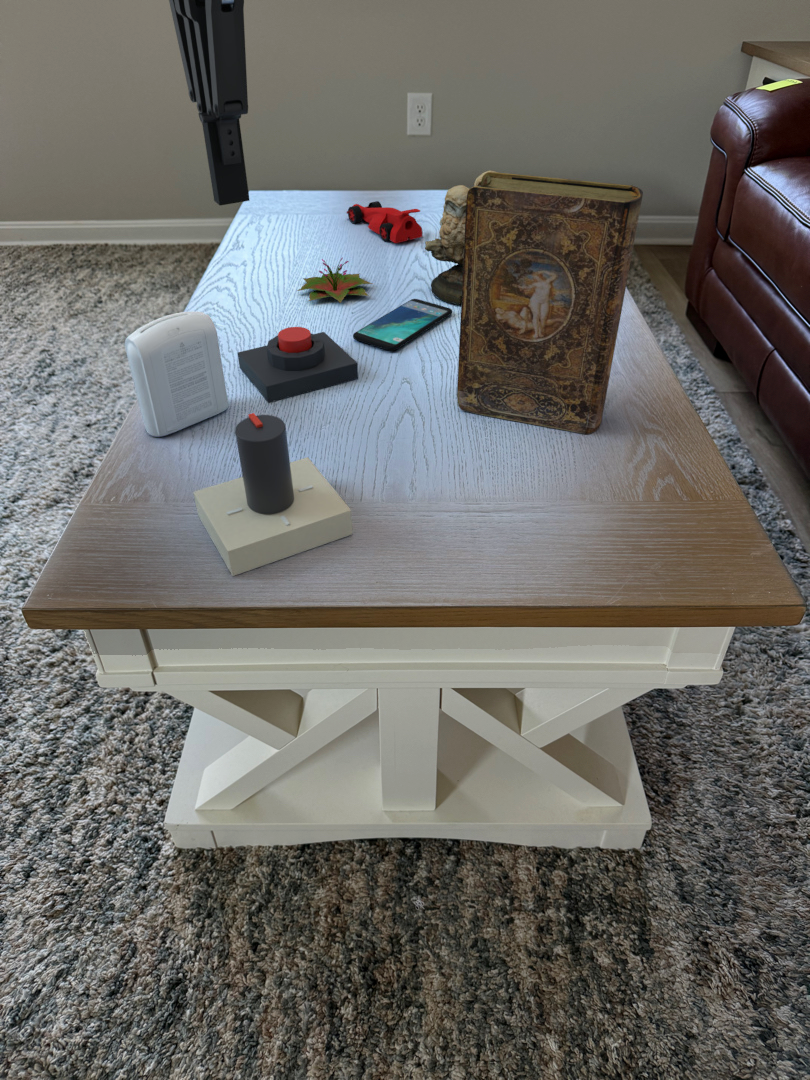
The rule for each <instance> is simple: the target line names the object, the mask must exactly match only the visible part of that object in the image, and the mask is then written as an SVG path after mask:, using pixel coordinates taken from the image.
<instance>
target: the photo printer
mask: <svg viewBox="0 0 810 1080" xmlns="http://www.w3.org/2000/svg"><path fill="white" fill-rule="evenodd" d="M124 346H125V347H124V348H125V353H126V357H127V362H128V364H129V365H128V366H129V370H130V374H131V379H132V383H133V386H134V390H135V391H134V392H135V394H136V398H137V402H138V407H139V411H140V415H141V419H142V423H143V424H144V428H145V431H146V433H147V434H148V435H150V436H152V437H155V438H156V437H157V438H160V437H164V436H169V435H171V434H174V433H176V432H178V431H181V430H182V429H185V428H188V427H190V426H193V425H195V424H198V423H200V422H202V421H204V420H207V419H209V418H212V417H214V416H216V415H218V414H220V413H223V412H225V411H226V410H228V409H229V399H228V392H227V388H226V387H227V386H226V381H225V375H224V369H223V363H222V355H221V348H220V343H219V336H218V331H217V328H216V326H215V323H214V321H213V319H212V318H211V316H210V315H209V314H206V313H204V312H203V311H192V310H191V311H180V312H176V313H170V314H167V315H163V316H161V317H159V318H156V319H154V320H151V321H150V322H147V323H146V324H143V325H142V326H141V327H139V328H137V329H136V330H134V331H133V332H132V333H130V334H129V335H128V336H127V337H126V338H125V340H124Z"/></svg>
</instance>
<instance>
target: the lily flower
mask: <svg viewBox="0 0 810 1080" xmlns="http://www.w3.org/2000/svg"><path fill="white" fill-rule="evenodd" d="M343 259H344V257H341V258H340V260H339V262H338V264H337V266H336V267H334V265H332V268H333V269H332V268H331V267H330V266H329V265H328V264H327V262H326V261H325V260H324V259H323V258H321V261H322V264H323V266H325V267H326V268H327V269H326V268H323V270H324V271H325V272H327V273H324V272H323V271H322V270H318V272H319V273H320V274H322V275H321V276H313V277H307V278H306V277H303V278H302V279H303V280H304V282H305V283H304V284H303V285H302V286H301V288H299V289H298V290H297V289H296V292H299V291H305V290H313V291H311V292H310V293H309V296H308V298H309V299H308V302H311V301H316V300H320V299H324V298H330V297H332V298H333V299H334V300H337V301H338V303H339V304H341V303H342V301H343V300H344V299H345V297H346V296H366V297H370V295H369V294H368V292H367V291H366V290H365V288H363V287H359V286H361V285H374V283H373V282H370V281H367V280H365V279H364V278H362V277H360V274H361V273H347V272H348V270H347V269H344V270H343V271H342V269H343V266H344V265H346V264H348V263H349V260H346V261H345V262H343V263H341V262H342V260H343ZM340 271H342V273H340Z"/></svg>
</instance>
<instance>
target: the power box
mask: <svg viewBox="0 0 810 1080" xmlns="http://www.w3.org/2000/svg"><path fill="white" fill-rule="evenodd" d="M311 342H312V347H311V348H310V349H309V350H307V351H303V352H299V353H287V352H284V351H281V350H280V349H279V341H278V334H277V335H276V336H274V337H273V338H271V339H269V340H268V341H267V345H262V346H258V347H254V348H251V349H247V350H242V351H238V352H236V353H237V359H238V365H239V369H240V370H241V371H242V372H243V374H244V375H245V376H246V377H247V378H248V380H249V381H250V382H251V384H252V385H253V386H254V387H255V388H256V390H257V391H258V392H259V394H261V396H262V397H263V398H264V400H266V402H267V403H273V402H275V401H276V402H277V401H280V400H283V399H289V398H291V397H294V396H295V397H296V396H299V395H302V394H306V393H310V392H313V391H317V390H321V389H324V388H325V389H326V388H328V387H331V386H337V385H339V384H344V383H348V382H351V381H355V380H358V379H359V368H358V366H359V365H358V361H356V360H355V359H354V358H353V357H352V356H351V355H350V354H349V353H347V352H346V350H344V348H342V347H341V346H340V345H339V344H338V343H337V342H336V341H335V340H334V339H332V338H331V336H329V335H328V334H327V333H326V332H325V331H321V332H317V333H312V332H311Z"/></svg>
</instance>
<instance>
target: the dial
mask: <svg viewBox="0 0 810 1080" xmlns="http://www.w3.org/2000/svg"><path fill="white" fill-rule="evenodd" d="M286 427H287V426H286V423H285V421H284V420H283V419H281V418H280V417H277V416H274V415H270V414H258V415H256V413H255V412H252V413H248V417H246V418H244V419H242V420H241V421H240V422H238V423H237V424H236V426H235V429H234V434H235V438H236V439H235V440H236V446H237V451H238V455H239V456H238V458H239V463H240V464H239V465H240V469H241V475H242V477H243V481H244V487H245V493H246V499H247V504H248V506H249V508H250V509H251V510H253V511H255V512H257V513H260V514H275V513H279V512H282V511H284V510H286V509H287V508H289V507H290V506H291V505H292V503H293V501H294V492H293V484H292V476H291V467H290V462H291V460H290V459H291V458H290V451H289V444H288V435H287V428H286Z"/></svg>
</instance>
